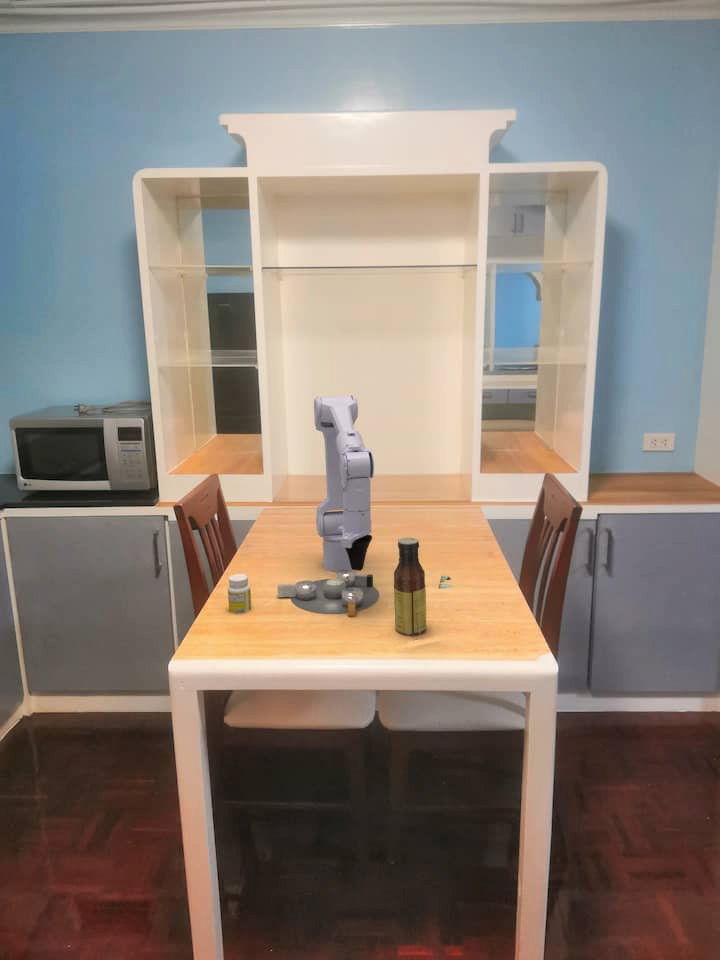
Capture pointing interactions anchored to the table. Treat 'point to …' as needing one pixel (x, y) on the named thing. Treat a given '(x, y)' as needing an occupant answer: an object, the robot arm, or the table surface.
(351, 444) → the robot arm
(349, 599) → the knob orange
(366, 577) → the knob black
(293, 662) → the table surface
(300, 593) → the silver metal rounded piece
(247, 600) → the supplement bottle
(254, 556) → the table surface
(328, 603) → the tribrach plate
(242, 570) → the table surface
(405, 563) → the sauce bottle
